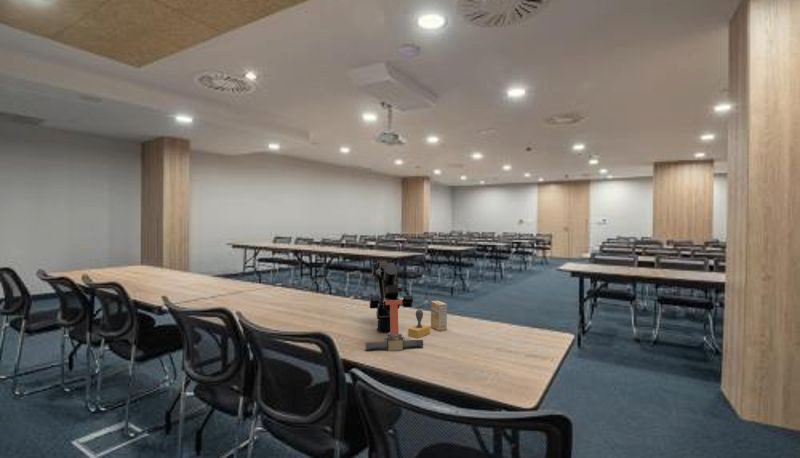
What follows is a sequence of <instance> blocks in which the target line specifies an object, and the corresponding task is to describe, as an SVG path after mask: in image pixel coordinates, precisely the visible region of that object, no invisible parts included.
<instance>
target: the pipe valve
mask: <svg viewBox="0 0 800 458" xmlns="http://www.w3.org/2000/svg"><path fill="white" fill-rule="evenodd" d="M390 334H391V333H390ZM390 334H387V335H386V336H387V337H385V338H384V339H383V341H375V342H374V341H373V342H365V346H364V347H365V351H376V350H377V351H378V350H387V351H388V352H391V351H403V350H404V349H409V348H410V349H411V348H412V349H414V348H423V347H424V340H423V339H412V340H411V339H410V340H406V339H405V337H403V334H402V333H399V337H397V338H391V336H390Z"/></svg>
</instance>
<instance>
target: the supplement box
mask: <svg viewBox="0 0 800 458" xmlns="http://www.w3.org/2000/svg"><path fill="white" fill-rule="evenodd" d="M447 324H448V303H447V302H446V303H445V302H443V301H441V300H431V301H430V328H433V329H435V330H437V331H439V332H443V331H447V330H448V328H447Z"/></svg>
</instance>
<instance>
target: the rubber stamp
mask: <svg viewBox="0 0 800 458" xmlns="http://www.w3.org/2000/svg"><path fill="white" fill-rule="evenodd" d="M415 317H416V321H417V324H416V325H414V326H412V327H411V326H410V327H408V330H407V336H408V337H411V338H414V339H419V338H423V337H424V336H427V335H430V334H431V325H428V324H423V323H421V322H422V319H423V318H424V311H422V309H417V310H416V312H415Z"/></svg>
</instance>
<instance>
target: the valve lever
mask: <svg viewBox="0 0 800 458" xmlns="http://www.w3.org/2000/svg"><path fill="white" fill-rule="evenodd" d="M398 304H400V305H402V300H385V305H390V337H391V338H397V337H399V334H400V331H399V309H398Z"/></svg>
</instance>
